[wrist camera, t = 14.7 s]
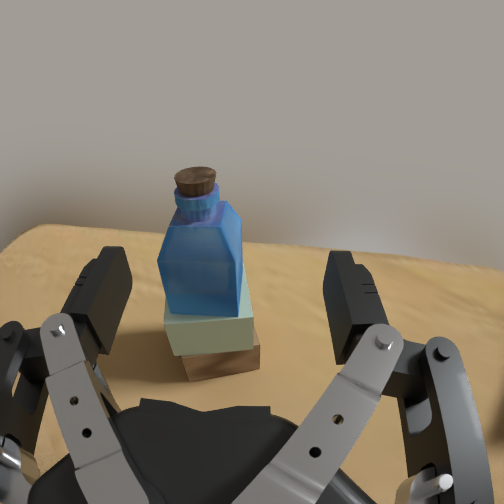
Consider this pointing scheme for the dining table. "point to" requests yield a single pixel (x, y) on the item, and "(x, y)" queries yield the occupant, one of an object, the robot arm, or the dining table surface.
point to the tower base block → (222, 363)
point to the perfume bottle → (202, 249)
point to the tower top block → (212, 329)
